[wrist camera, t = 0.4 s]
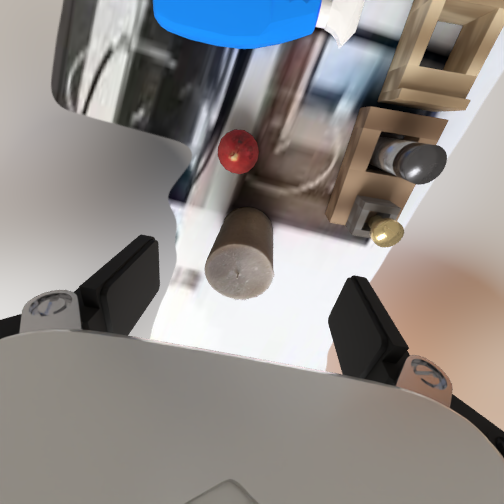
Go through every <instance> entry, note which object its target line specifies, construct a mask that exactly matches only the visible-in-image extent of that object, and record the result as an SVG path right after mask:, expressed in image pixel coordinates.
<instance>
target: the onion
mask: <svg viewBox="0 0 504 504" xmlns="http://www.w3.org/2000/svg"><path fill="white" fill-rule="evenodd" d="M258 154H259V151H258V145H257V142H256V141H255V139H254V137H253V136H252V135H251V134H249V133H248V132H246V131H245V130H237V129H235V130H233V131H230V132H228V133H226V135H225V136H224V137H223V138H222V139H221V141H220V144H219V146H218V157H219V160H220V163H221V164H222V165H223V166H224V168H225V169H226V170H228V171H230V172H232V173H237V174H242V173H246V172H248V171H249V170H250V169H251V168H253V167H254V165H255V163H256V161H257V159H258Z"/></svg>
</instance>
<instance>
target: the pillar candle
mask: <svg viewBox="0 0 504 504" xmlns="http://www.w3.org/2000/svg"><path fill="white" fill-rule="evenodd" d="M205 275H206V278H207V280H208V282H209V284H210V285H211V286H212V287H213V288H214V289H215V290H216V291H218V292H219V293H220V294H222V295H224V296H226V297H230V298H233V299H235V300H239V299H240V300H246V299H249V298H253V297H257V296H258V295H261V294H263V292H264V291H265V290H266V289H268V287H269V286H270V284H271V282H272V279H273V277H274V271H273V228H272V224H271V222H270V220H269V218H268V217H267V216H266V215H265V214H264V213H263V212H261V211H259V210H257V209H255V208H251V207H241V208H239V209H235V210H233V211H232V212H230V213H229V214H228V215H227V216H226V217H225V219H224V223H223V225H222V226H221V229H220V232H219V234H218V236H217V238H216V240H215V243H214V245H213V247H212V249H211V251H210V254H209V256H208V258H207V261H206V264H205Z"/></svg>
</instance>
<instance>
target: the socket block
mask: <svg viewBox="0 0 504 504" xmlns="http://www.w3.org/2000/svg"><path fill="white" fill-rule="evenodd" d="M447 122H448V120H446V119H440V118H434V117H429V116H423V115H417V114H412V113H406V112H400V111H395V110H389V109H383V108H377V107H372V106H370V107H363V108H360V110H359V113H358V116H357V119H356V122H355V125H354V128H353V131H352V134H351V137H350V140H349V143H348V146H347V149H346V152H345V155H344V158H343V161H342V164H341V167H340V170H339V173H338V176H337V179H336V182H335V185H334V188H333V191H332V194H331V197H330V200H329V203H328V206H327V209H326V212H325V215H326V216H327V218H328V220H329V222H330V223H335V224H341V225H345V226H346V227H347V228H348V230H349V231H350V233H351V234H352V235H355V236H361V237H367V238H371V237H370V230H371V228H370V227H369V226H368V221H369V219H370V218H371V217H373V216H376V215H378V216H381V217H382V218H383V219H384V218H392V219H394V220H396V221H397V220H398V218H399V216H400V214H401V212H402V210H403V208H404V206H405V204H406V202H407V200H408V198H409V196H410V194H411V192H412V191H413V189H414V187H415V185H416V184H413V183H411V182H409V181H407V180H404V179H402V178H400V177H398V176H395V175H393V174H391V173H389V172H384V171H378V170H373V169H367V166H368V164H369V161H370V159H371V156H372V154H373V151H374V149H375V146H376V143H377V141H378V138H379V136H380V133H381V132H385V133H391V134H397V135H403V136H405V137H404V139H403V140H406V141H412V142H419V143H425V144H432V145H436V144H437V142H438V140H439V138H440V136H441V134H442V132H443V130H444V128H445V126H446V124H447Z"/></svg>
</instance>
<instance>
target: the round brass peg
mask: <svg viewBox="0 0 504 504" xmlns="http://www.w3.org/2000/svg"><path fill="white" fill-rule="evenodd" d="M368 226H369V227H370V228H371V230H370V237H371V239H372V240H373V241H374V242H375V244H376V245H378V246H380V247H390V246H393V245H395V244H396V243H398V242H399V241H400V240H401V238H402V237H403V234H404V229H403V227H402V225H401V224H400V223H398V222H397V221H396V220H394V219H392V218H384V219H383V218H382V217H381V216H378V215H376V216H373V217H371V218H370V219H369V221H368Z"/></svg>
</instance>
